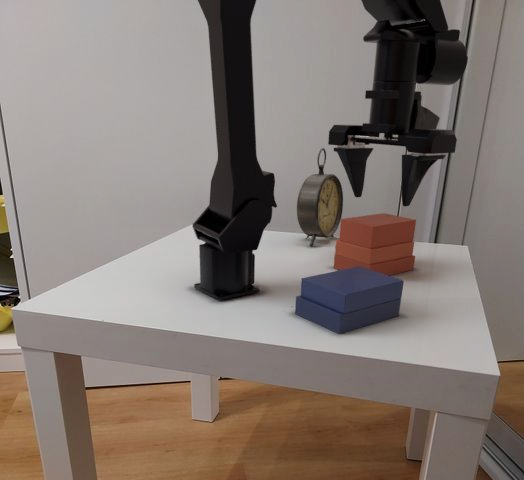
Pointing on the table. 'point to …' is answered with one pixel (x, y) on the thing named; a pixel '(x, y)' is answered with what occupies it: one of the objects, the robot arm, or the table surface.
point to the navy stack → (349, 298)
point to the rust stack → (375, 257)
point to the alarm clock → (320, 204)
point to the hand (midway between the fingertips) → (381, 201)
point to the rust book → (377, 230)
